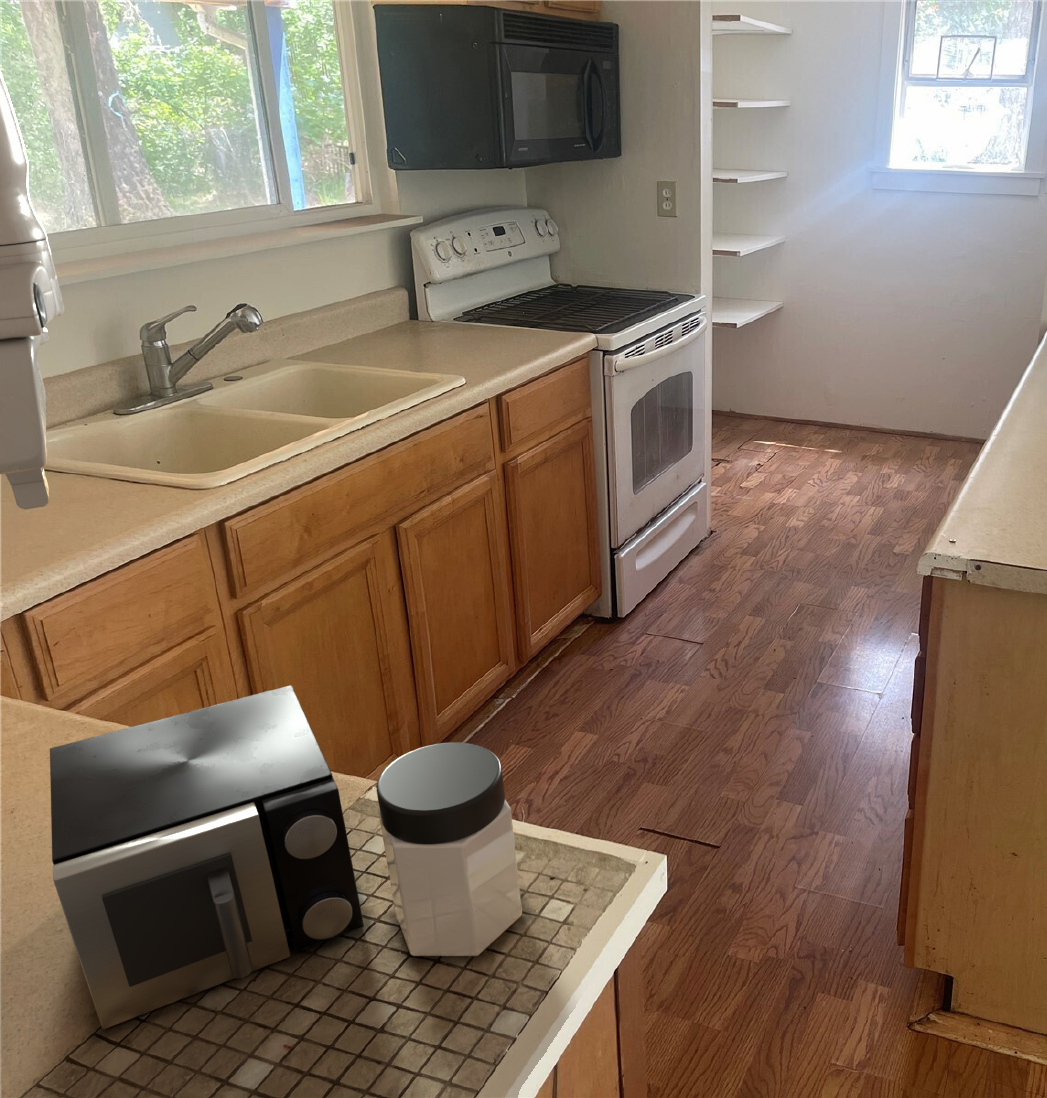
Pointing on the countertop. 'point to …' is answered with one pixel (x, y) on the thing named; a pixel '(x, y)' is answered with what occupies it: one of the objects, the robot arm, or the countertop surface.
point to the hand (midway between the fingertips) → (34, 501)
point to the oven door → (172, 913)
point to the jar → (449, 848)
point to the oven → (218, 798)
